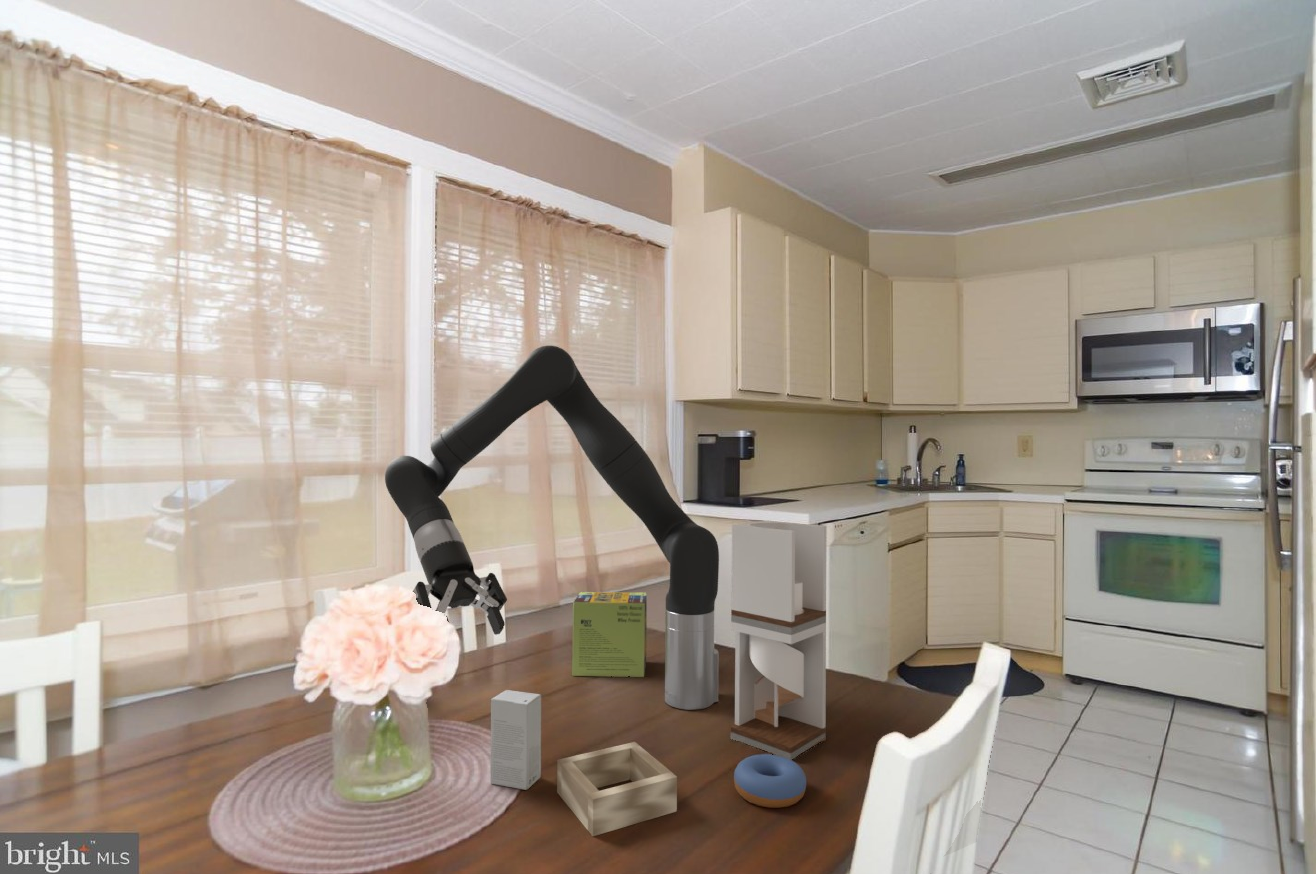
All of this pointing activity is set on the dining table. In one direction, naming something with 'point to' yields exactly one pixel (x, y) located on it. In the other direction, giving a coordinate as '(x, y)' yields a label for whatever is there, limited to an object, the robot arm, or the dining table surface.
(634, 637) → the protein box
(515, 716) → the skincare box
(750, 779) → the doughnut
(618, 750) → the frame
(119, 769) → the dining table surface
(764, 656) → the white shelf tower
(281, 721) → the dining table surface
